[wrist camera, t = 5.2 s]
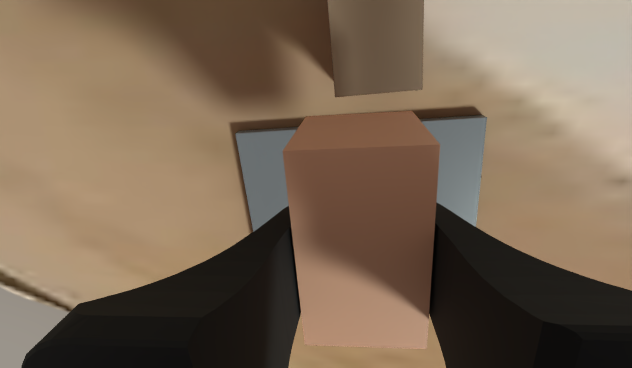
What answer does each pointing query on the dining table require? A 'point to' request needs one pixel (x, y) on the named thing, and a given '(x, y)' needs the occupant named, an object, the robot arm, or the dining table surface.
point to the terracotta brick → (363, 227)
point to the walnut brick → (376, 45)
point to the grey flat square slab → (451, 132)
